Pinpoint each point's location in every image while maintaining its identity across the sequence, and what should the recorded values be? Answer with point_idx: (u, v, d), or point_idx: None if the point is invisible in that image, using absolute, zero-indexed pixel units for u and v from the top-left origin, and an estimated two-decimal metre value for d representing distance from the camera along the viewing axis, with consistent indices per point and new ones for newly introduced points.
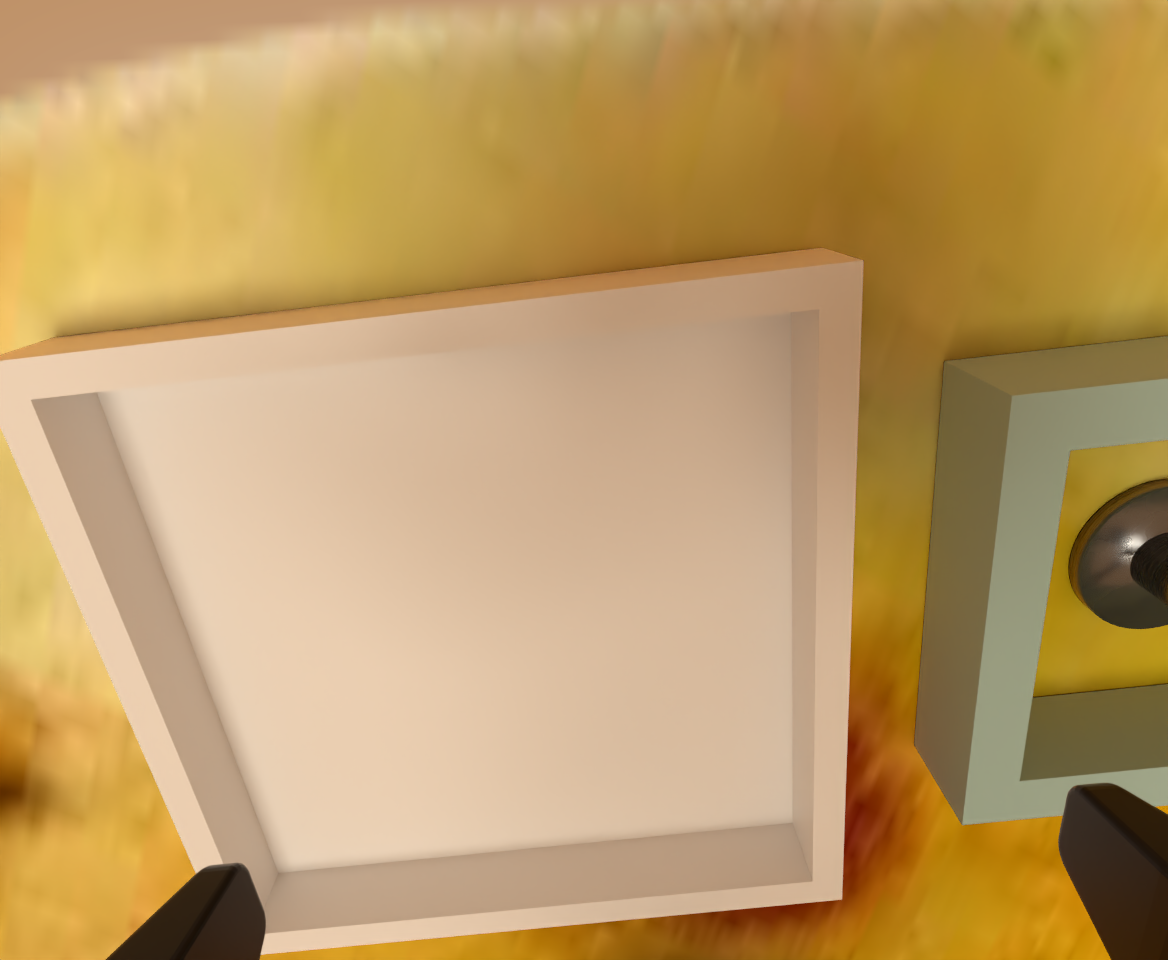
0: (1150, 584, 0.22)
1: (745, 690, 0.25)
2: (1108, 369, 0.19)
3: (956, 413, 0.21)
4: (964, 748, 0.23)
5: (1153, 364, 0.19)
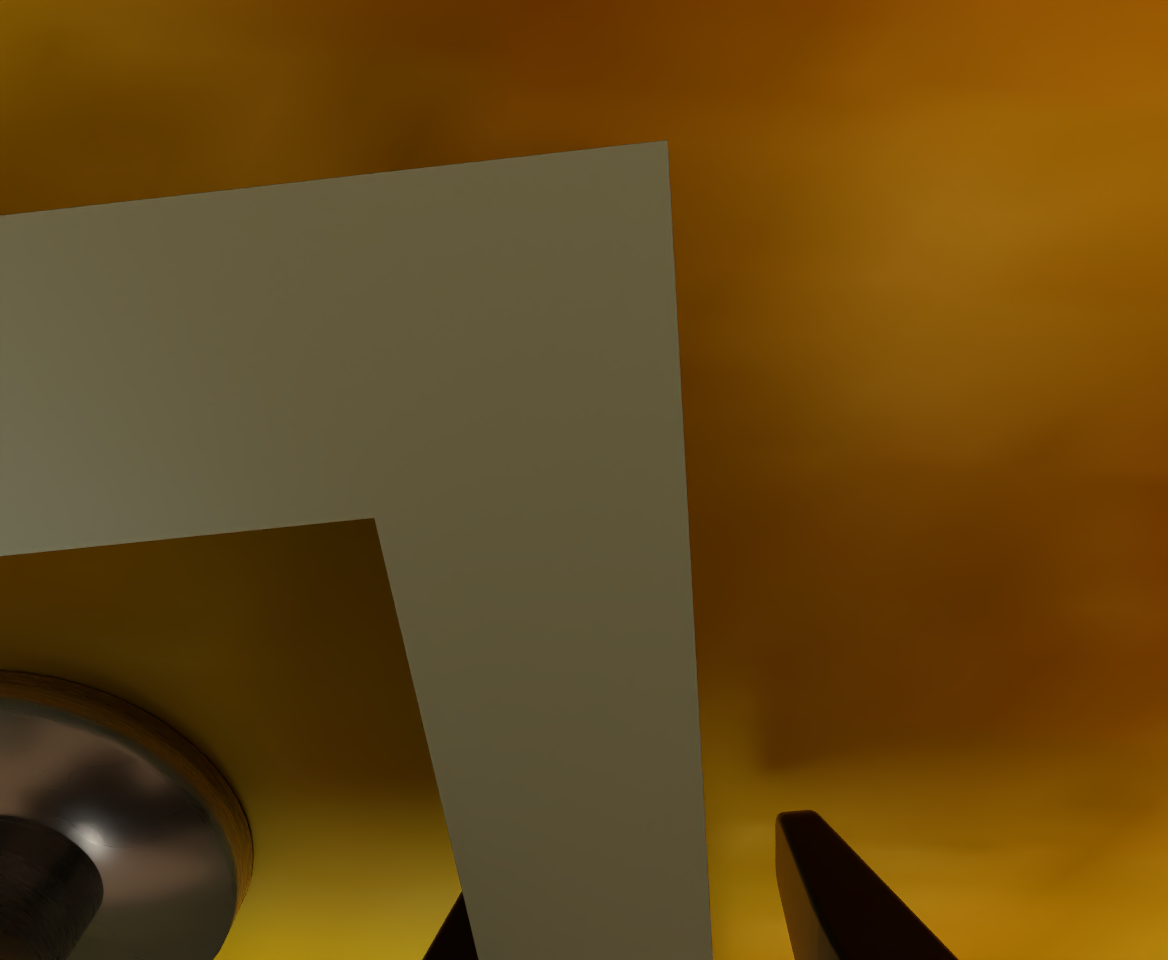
0: None
1: None
2: None
3: None
4: None
5: None
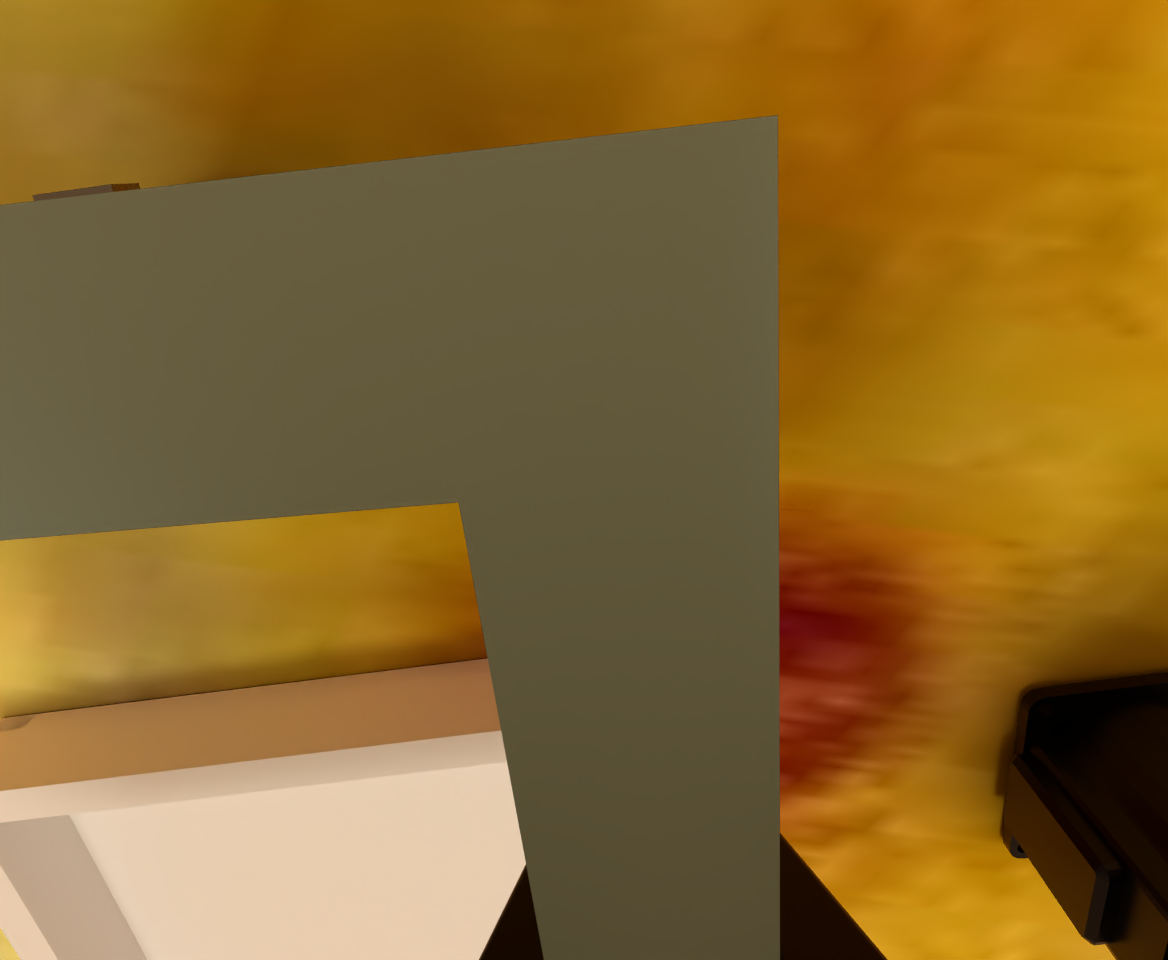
0: None
1: None
2: None
3: None
4: None
5: None
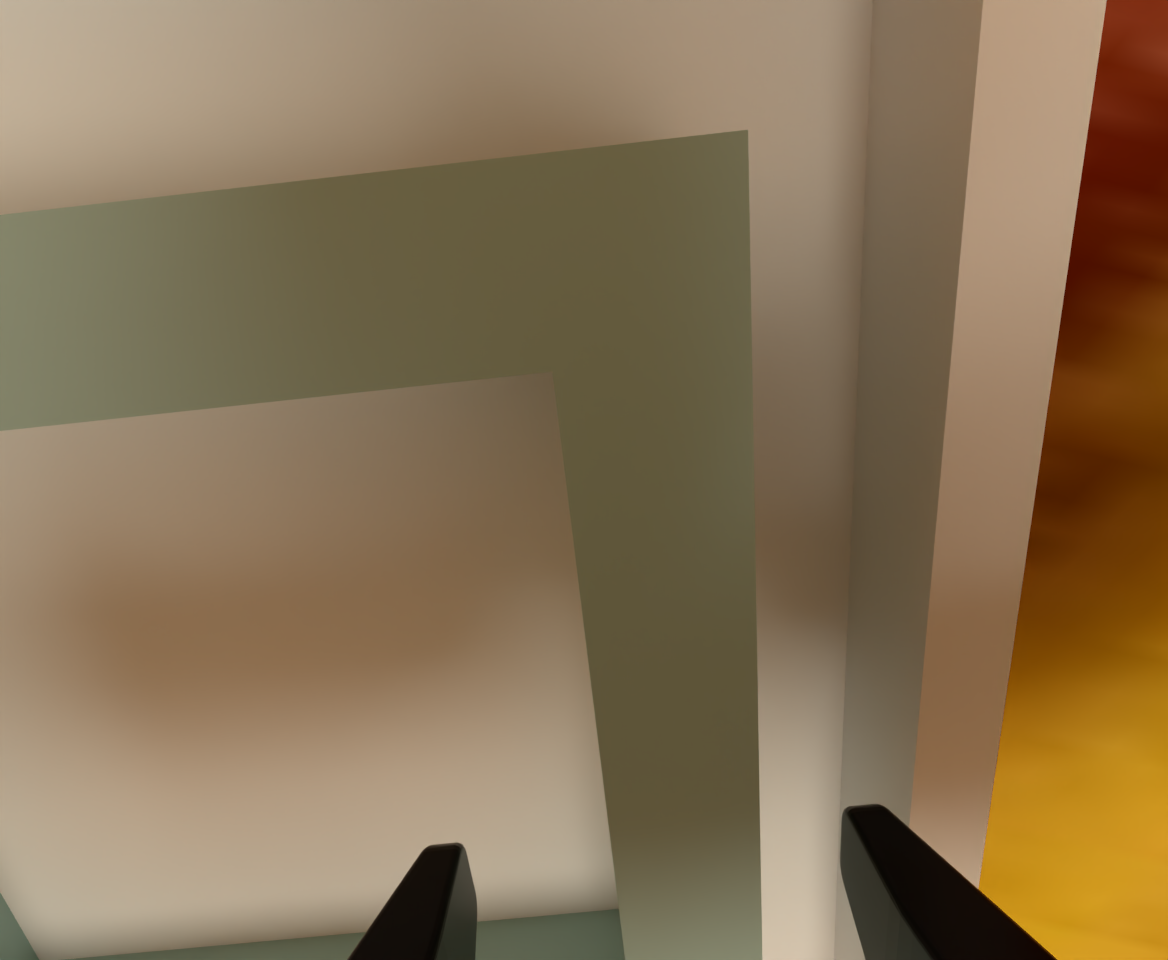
0: None
1: (314, 99, 0.08)
2: None
3: None
4: None
5: None
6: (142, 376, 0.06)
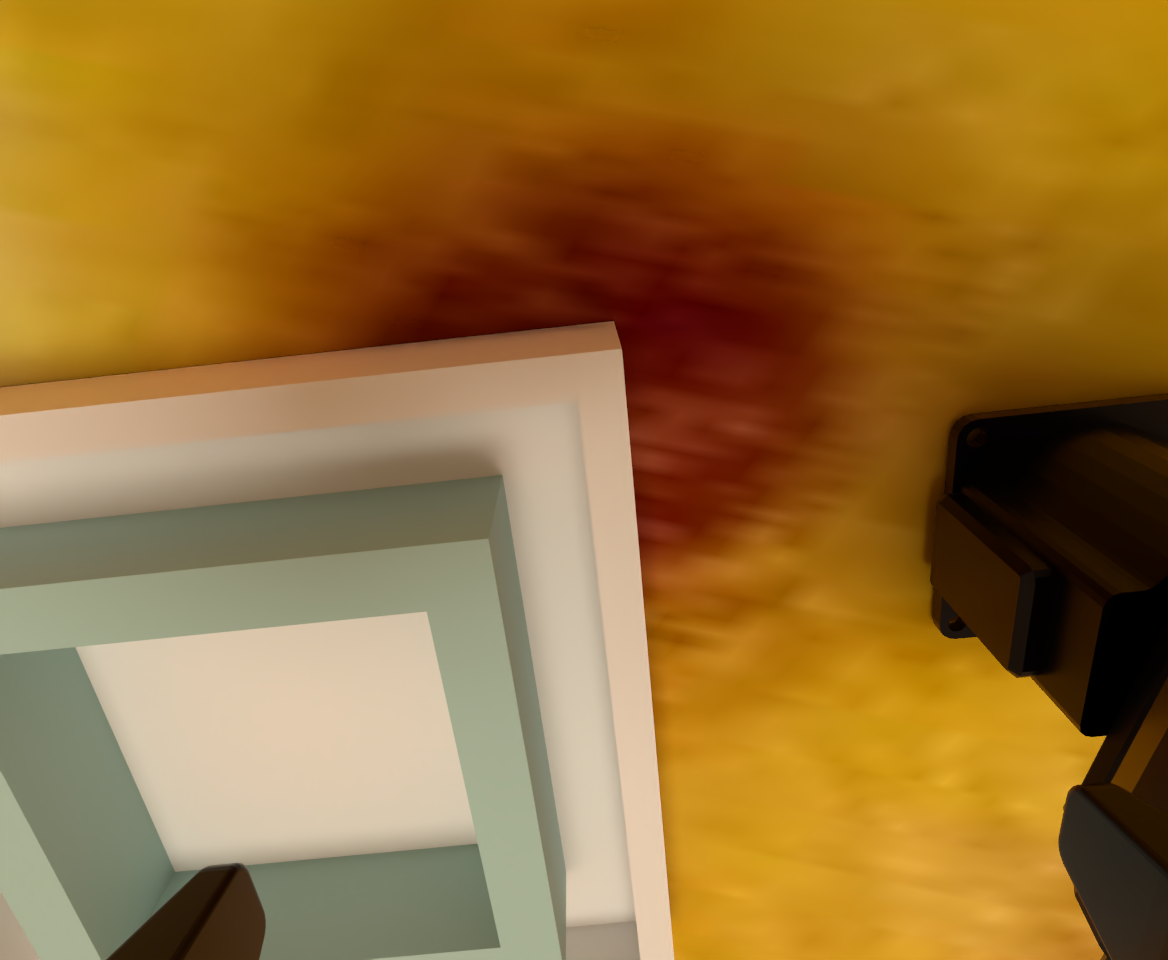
0: None
1: (336, 459, 0.18)
2: None
3: None
4: None
5: None
6: (275, 613, 0.16)
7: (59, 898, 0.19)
